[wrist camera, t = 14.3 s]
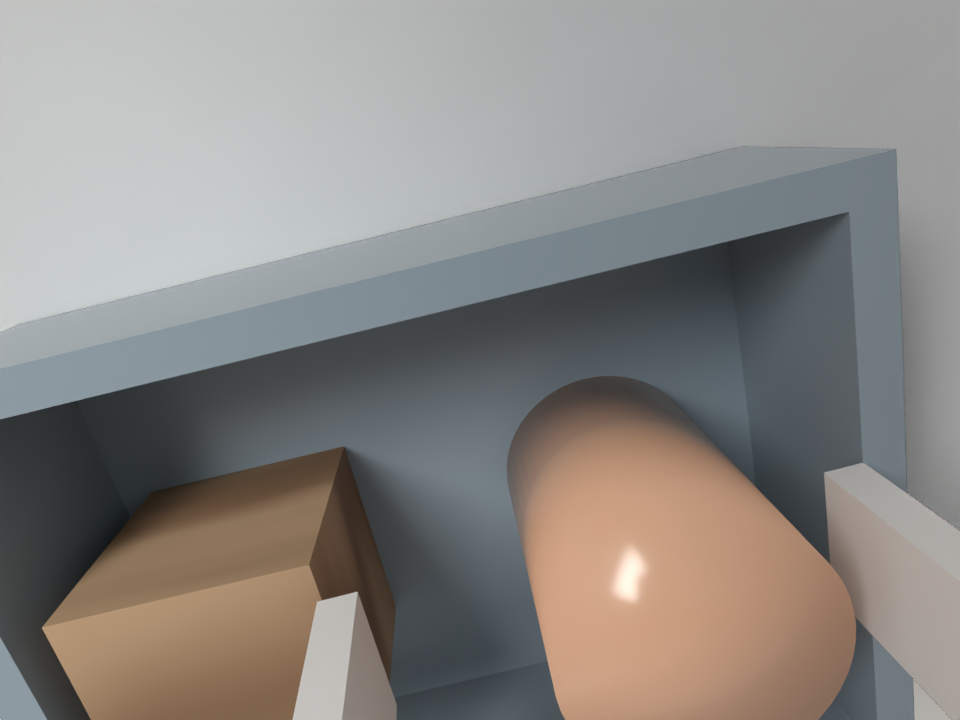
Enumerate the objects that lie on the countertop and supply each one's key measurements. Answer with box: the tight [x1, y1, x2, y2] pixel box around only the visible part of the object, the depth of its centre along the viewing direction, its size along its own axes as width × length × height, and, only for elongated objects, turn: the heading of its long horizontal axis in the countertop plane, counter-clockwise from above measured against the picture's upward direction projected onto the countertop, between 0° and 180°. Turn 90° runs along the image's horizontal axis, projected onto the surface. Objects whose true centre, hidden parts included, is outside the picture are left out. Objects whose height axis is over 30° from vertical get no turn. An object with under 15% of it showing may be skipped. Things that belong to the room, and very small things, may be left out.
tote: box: [0, 146, 914, 720], centre depth 15 cm, size 14×18×6 cm
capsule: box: [507, 376, 856, 720], centre depth 14 cm, size 5×5×7 cm
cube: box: [42, 446, 396, 720], centre depth 15 cm, size 5×5×5 cm
